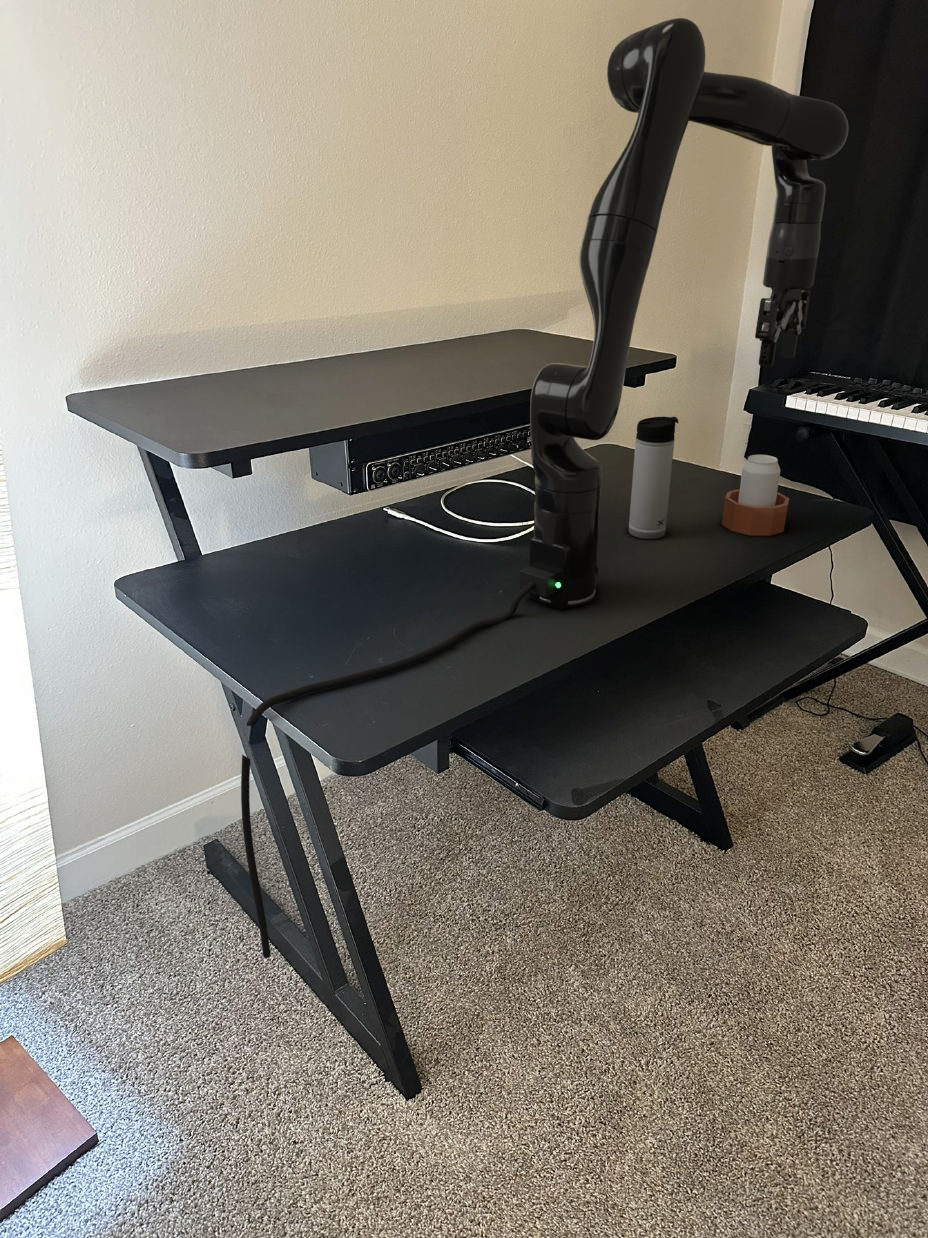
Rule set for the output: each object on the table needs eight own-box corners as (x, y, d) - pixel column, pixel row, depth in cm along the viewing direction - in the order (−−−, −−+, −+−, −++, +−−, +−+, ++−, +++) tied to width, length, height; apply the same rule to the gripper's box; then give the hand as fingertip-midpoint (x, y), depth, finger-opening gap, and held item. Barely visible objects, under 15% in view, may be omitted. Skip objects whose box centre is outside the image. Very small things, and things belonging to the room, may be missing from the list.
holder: (771, 540, 151) (775, 512, 149) (711, 526, 158) (714, 499, 155) (795, 523, 158) (799, 496, 156) (737, 510, 165) (740, 484, 162)
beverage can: (746, 516, 162) (755, 451, 156) (778, 524, 158) (788, 458, 152) (728, 524, 158) (737, 458, 153) (760, 533, 154) (770, 466, 149)
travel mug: (670, 539, 152) (682, 422, 143) (631, 539, 152) (640, 422, 143) (663, 526, 158) (674, 413, 149) (626, 526, 158) (634, 413, 149)
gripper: (786, 250, 145) (772, 352, 152) (749, 256, 135) (735, 366, 143) (833, 252, 141) (816, 357, 148) (797, 258, 131) (781, 371, 138)
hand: (776, 361), depth 145 cm, fingers open, 8 cm apart
